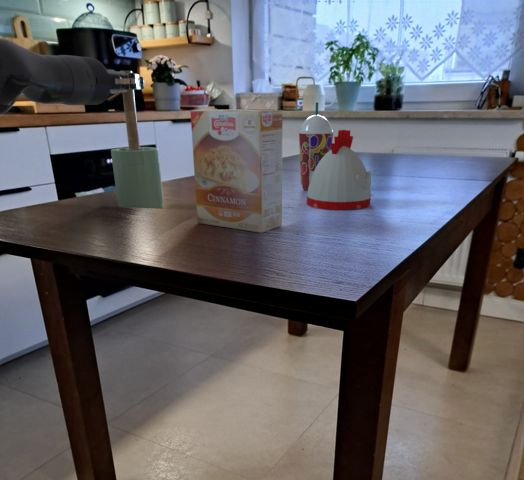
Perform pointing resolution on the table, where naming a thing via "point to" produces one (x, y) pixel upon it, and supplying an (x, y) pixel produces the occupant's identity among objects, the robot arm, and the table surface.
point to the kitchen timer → (340, 178)
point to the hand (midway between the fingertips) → (136, 83)
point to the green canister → (137, 178)
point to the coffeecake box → (238, 168)
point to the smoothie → (313, 144)
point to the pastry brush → (131, 119)
